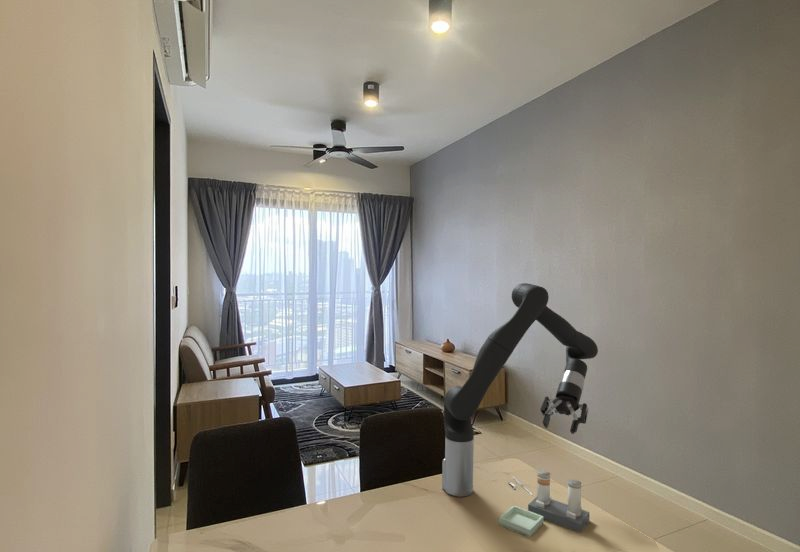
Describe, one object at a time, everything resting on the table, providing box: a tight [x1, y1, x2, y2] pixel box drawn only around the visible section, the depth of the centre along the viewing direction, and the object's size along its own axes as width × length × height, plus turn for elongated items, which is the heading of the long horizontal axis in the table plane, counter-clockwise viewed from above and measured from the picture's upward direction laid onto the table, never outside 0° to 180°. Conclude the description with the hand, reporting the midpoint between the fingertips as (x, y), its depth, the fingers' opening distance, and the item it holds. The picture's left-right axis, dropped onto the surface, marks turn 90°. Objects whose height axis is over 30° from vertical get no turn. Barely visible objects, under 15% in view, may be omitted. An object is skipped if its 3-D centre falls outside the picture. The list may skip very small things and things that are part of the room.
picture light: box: [508, 476, 534, 497], centre depth 144 cm, size 14×4×2 cm, turn 12°
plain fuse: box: [567, 478, 582, 517], centre depth 122 cm, size 4×4×9 cm
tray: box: [498, 504, 545, 538], centre depth 121 cm, size 9×9×2 cm
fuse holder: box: [527, 495, 590, 534], centre depth 125 cm, size 15×8×4 cm, turn 50°
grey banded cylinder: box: [536, 469, 551, 506], centre depth 128 cm, size 4×4×9 cm
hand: (558, 429), depth 137 cm, fingers open, 8 cm apart
